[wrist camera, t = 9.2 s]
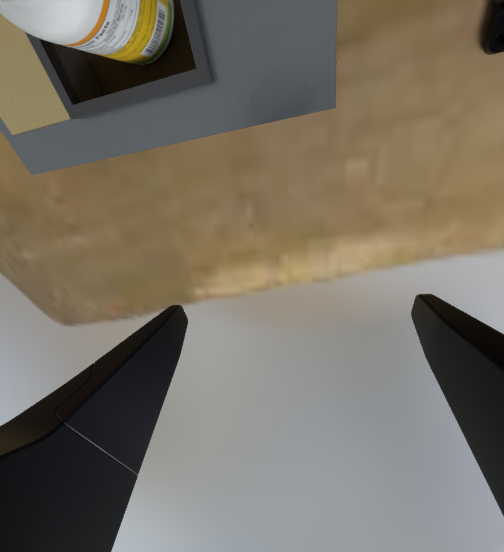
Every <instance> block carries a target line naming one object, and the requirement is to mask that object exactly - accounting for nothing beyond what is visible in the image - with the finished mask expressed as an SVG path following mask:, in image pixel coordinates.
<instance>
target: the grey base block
mask: <svg viewBox="0 0 504 552" xmlns="http://www.w3.org/2000/svg"><path fill="white" fill-rule="evenodd" d="M180 4H181V8H182V12H183V16H184V20H185V24H186V28H187V32H188V36H189V40H190V44H191V49H192V53H193V57H194V61H195V65H196V69H193V70H190V71H187V72H183V73H180V74H176V75H173V76H170V77H166V78H163V79H159V80H156V81H153V82H149V83H146V84H143V85H139V86H136V87H132V88H129V89H126V90H122V91H119V92H115V93H112V94H109V95H105V96H104V95H103V93H102V91H101V88H100V86H99V84H98V81H97V79H96V77H95V75H94V72H93V70H92V68H91V66H90V63H89V61H88V59H87V56H86V54H85V52H84V51H82V50H79V49H75V48H71V47H66V46H63V45H59V44H55V43H52V42H49V41H46V40H43V39H40V38H37V37H35V36H33V35H31V34H29V33H27V32H25V31H23V30H21V29H20V28H18V27H17V26H15V25H14V24H13V23H11V22H10V21H9V20H7V19H6V18H5V17H4V16H3V15H2V14H1V13H0V130H1V131H2V133H3V134H4V136H5V137H6V138H7V140H8V141H9V143H10V144H11V146H12V147H13V149H14V150H15V152H16V153H17V154H18V156H19V157H20V159H21V160H22V162H23V163H24V165H25V166H26V168H27V169H28V170H29V172H30V173H31V175H35V174H39V173H44V172H48V171H53V170H57V169H62V168H66V167H71V166H75V165H80V164H84V163H89V162H93V161H98V160H102V159H107V158H111V157H116V156H120V155H125V154H129V153H134V152H138V151H143V150H147V149H152V148H156V147H161V146H165V145H170V144H174V143H179V142H183V141H188V140H192V139H197V138H201V137H206V136H210V135H215V134H219V133H224V132H228V131H233V130H237V129H242V128H246V127H251V126H255V125H260V124H264V123H269V122H273V121H278V120H282V119H287V118H291V117H296V116H300V115H305V114H309V113H314V112H318V111H323V110H327V109H332V108H335V105H336V33H337V0H180Z"/></svg>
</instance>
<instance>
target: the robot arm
mask: <svg viewBox="0 0 504 552" xmlns="http://www.w3.org/2000/svg"><path fill="white" fill-rule="evenodd" d="M495 2H496V3H495V7H494V10H493V14H492V17H491V21H490V25H489V28H488V32H487V36H486V39H485V43H484V52H485V53H486V54H488V55H492V54H496V53H500V52H504V0H495ZM499 35H501V36H502V40H501V42H500V44H499V45H498V46H497V47H496V46H495V40H496V38H497V37H498V36H499ZM411 315H412V320H413V323H414V325H415V328H416V331H417V334H418V337H419V340H420V343H421V345H422V348H423V351H424V354H425V356H426V359H427V361H428V363H429V365H430V367H431V369H432V371H433V373H434V375H435V377H436V379H437V381H438V384H439V385H440V388H441V390H442V392H443V393H444V395H445V398H446V400H447V402H448V404H449V406H450V408H451V410H452V412H453V414H454V416H455V418H456V420H457V422H458V424H459V426H460V428H461V430H462V432H463V434H464V436H465V438H466V441H467V443H468V445H469V446H470V448H471V451H472V453H473V455H474V457H475V459H476V461H477V463H478V465H479V467H480V469H481V471H482V473H483V475H484V477H485V479H486V481H487V483H488V485H489V487H490V489H491V491H492V493H493V495H494V497H495V500H496V501H497V503H498V506H499V508H500V509H501V511H502V514H503V516H504V334H502V333H500V332H499V331H497V330H495V329H493V328H492V327H490V326H488V325H486V324H484V323H482V322H481V321H479V320H477V319H475V318H474V317H471V316H470V315H468V314H467V313H464V312H463V311H461V310H459V309H458V308H456V307H454V306H452V305H450V304H449V303H447V302H445V301H443V300H441V299H440V298H438V297H436V296H434V295H432V294H419V295H417V296H416V298H415V301H414V304H413V308H412V311H411ZM187 325H188V319H187V316H186V314H185V312H184V310H183V308H182V306H181V305H171V306H170V307H168V308H167V309H166V310H164V311H163V312H162V313H160V314H159V315H158V316H156V317H155V318H153V319H152V320H151V321H149V322H148V323H147V324H146V325H144V326H143V327H141V328H140V329H139V330H137V331H136V332H135V333H133V334H132V335H131V336H129V337H128V338H127V339H125V340H124V341H123V342H121V343H120V344H119V345H118V346H116V347H114V348H113V349H112V350H111V351H109V352H108V353H106V354H105V355H104V356H102V357H101V358H100V359H98V360H97V361H96V362H95V363H93V364H92V365H90V366H89V367H88V368H86V369H85V370H84V371H82V372H81V373H79V374H78V375H77V376H75V377H74V378H72V379H71V380H70V381H68V382H67V383H66V384H64V385H62V386H61V387H60V388H58V389H57V390H55V391H54V392H52V393H51V394H49V395H48V396H46V397H45V398H43V399H42V400H40V401H39V402H37V403H36V404H34V405H33V406H31V407H30V408H28V409H27V410H25V411H24V412H22V413H21V414H19V415H18V416H16V417H15V418H13V419H12V420H10V421H9V422H7V423H5V424H4V425H1V426H0V552H111V550H112V548H113V545H114V542H115V539H116V536H117V533H118V531H119V528H120V525H121V522H122V519H123V516H124V513H125V511H126V508H127V505H128V502H129V499H130V497H131V493H132V491H133V488H134V485H135V483H136V480H137V477H138V476H137V475H138V473H139V471H140V468H141V465H142V462H143V459H144V456H145V454H146V451H147V448H148V445H149V442H150V440H151V437H152V434H153V431H154V428H155V425H156V423H157V420H158V417H159V414H160V411H161V408H162V406H163V403H164V400H165V397H166V394H167V391H168V388H169V386H170V383H171V380H172V377H173V374H174V372H175V368H176V366H177V363H178V360H179V357H180V354H181V350H182V346H183V342H184V337H185V333H186V329H187Z"/></svg>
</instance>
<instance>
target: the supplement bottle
mask: <svg viewBox="0 0 504 552" xmlns="http://www.w3.org/2000/svg"><path fill="white" fill-rule="evenodd" d="M0 13H1V14H2V15H3V16H4V17H5V18H6V19H7V20H9V21H10V22H11V23H13V24H14V25H15V26H17V27H18V28H20V29H21V30H23V31H25V32H27V33H29V34H31V35H33V36H35V37H37V38H40V39H43V40H46V41H49V42H52V43H55V44H59V45H63V46H66V47H71V48H75V49H79V50H82V51H86V52H90V53H93V54H97V55H101V56H104V57H108V58H112V59H115V60H119V61H123V62H126V63H130V64H136V65H145V64H149V63H152V62H154V61H155V60H157V59H158V58H159V57H160V56H161V55H162V54H163V53H164V51H165V50H166V48H167V46H168V44H169V42H170V39H171V35H172V31H173V25H174V3H173V0H0Z"/></svg>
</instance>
